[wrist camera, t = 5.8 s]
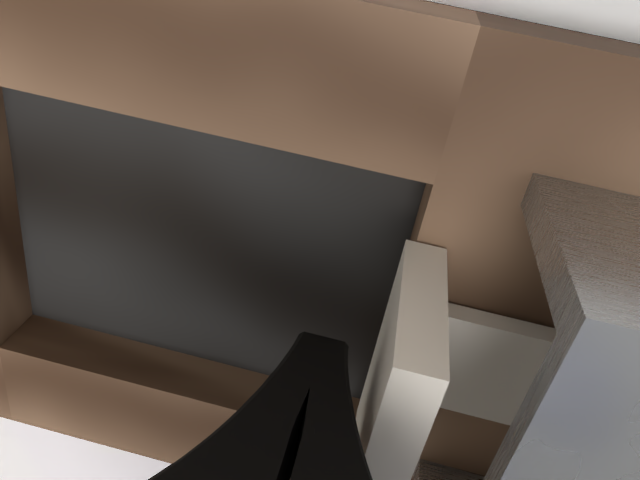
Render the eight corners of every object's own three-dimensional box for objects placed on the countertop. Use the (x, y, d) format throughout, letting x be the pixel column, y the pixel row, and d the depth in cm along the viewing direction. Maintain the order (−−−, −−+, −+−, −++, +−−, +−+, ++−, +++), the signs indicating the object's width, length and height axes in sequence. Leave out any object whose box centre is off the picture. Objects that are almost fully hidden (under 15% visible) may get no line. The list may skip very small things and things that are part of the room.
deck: (859, 597, 20) (899, 662, 18) (9, 371, 22) (-27, 409, 20) (1380, 195, 11) (1545, 244, 10) (-74, -101, 14) (-147, -103, 12)
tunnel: (604, 525, 17) (660, 735, 13) (413, 474, 18) (404, 660, 13) (817, 236, 12) (1043, 427, 7) (532, 172, 12) (586, 318, 8)
